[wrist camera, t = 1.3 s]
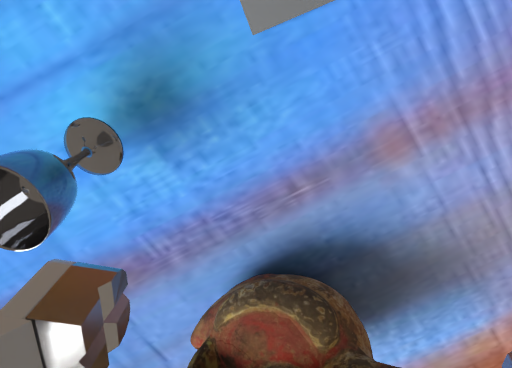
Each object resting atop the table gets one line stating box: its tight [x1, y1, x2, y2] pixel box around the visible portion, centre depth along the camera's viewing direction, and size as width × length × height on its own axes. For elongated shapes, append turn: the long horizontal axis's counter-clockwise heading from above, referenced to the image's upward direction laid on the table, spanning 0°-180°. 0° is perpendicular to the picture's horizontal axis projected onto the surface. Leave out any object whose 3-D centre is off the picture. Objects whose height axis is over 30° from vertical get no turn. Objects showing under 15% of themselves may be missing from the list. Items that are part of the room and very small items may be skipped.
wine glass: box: [0, 118, 123, 251], centre depth 37 cm, size 8×8×15 cm
